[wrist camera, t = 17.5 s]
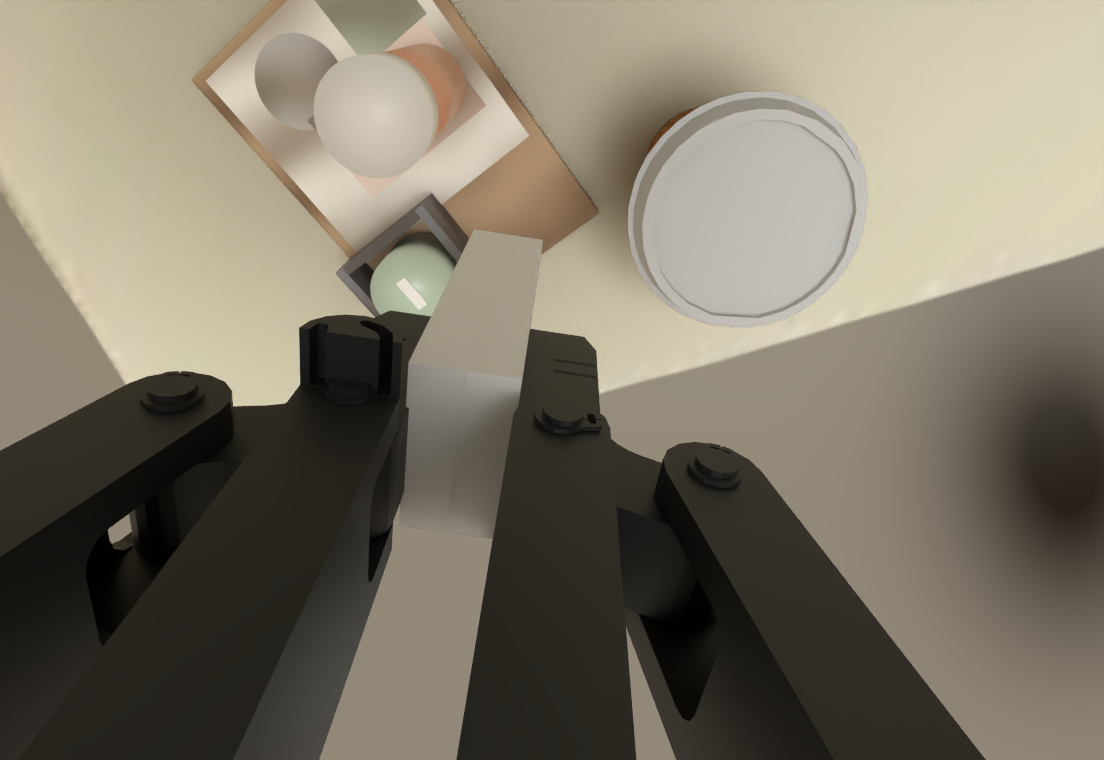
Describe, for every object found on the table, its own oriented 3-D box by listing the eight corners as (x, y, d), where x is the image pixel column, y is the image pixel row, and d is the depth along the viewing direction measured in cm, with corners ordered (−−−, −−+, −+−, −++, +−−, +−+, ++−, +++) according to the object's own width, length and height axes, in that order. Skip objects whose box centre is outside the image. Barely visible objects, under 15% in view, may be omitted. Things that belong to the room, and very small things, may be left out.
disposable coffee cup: (776, 45, 35) (865, 56, 24) (804, 226, 39) (890, 303, 28) (593, 106, 36) (600, 141, 26) (638, 273, 40) (661, 363, 30)
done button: (370, 263, 39) (352, 285, 36) (428, 217, 38) (415, 236, 35) (422, 321, 41) (408, 347, 38) (479, 279, 40) (470, 302, 36)
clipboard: (196, 79, 36) (161, 84, 33) (378, -101, 32) (357, -114, 29) (424, 335, 43) (412, 360, 40) (598, 210, 39) (600, 226, 36)
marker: (374, 78, 35) (289, 110, 24) (431, 21, 34) (370, 26, 22) (429, 141, 37) (374, 201, 25) (486, 89, 35) (455, 127, 24)
